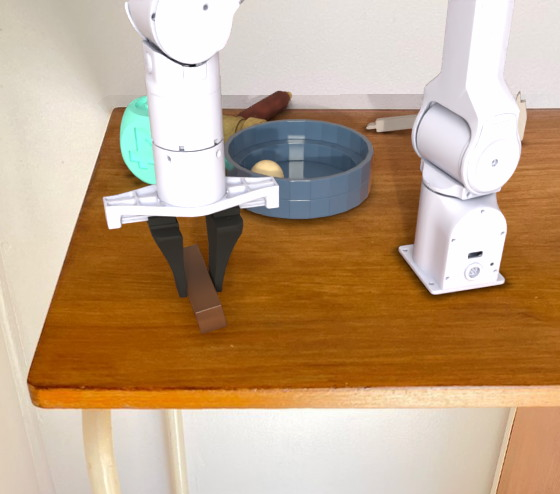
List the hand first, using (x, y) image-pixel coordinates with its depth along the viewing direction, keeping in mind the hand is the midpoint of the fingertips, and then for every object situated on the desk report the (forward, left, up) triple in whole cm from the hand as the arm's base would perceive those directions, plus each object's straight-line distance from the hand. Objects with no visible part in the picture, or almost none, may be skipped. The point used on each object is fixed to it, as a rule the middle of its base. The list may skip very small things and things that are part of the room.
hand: (199, 289), depth 77 cm
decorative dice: (+35, -3, -4) cm, 35 cm away
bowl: (+26, -17, -4) cm, 31 cm away
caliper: (+36, -40, -4) cm, 54 cm away
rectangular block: (0, 0, -1) cm, 1 cm away
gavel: (+45, -17, -4) cm, 49 cm away
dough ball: (+24, -13, -2) cm, 28 cm away
